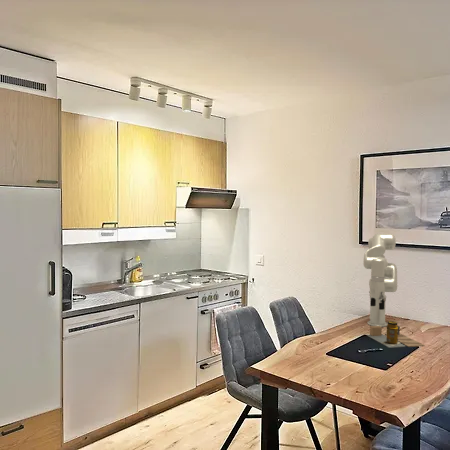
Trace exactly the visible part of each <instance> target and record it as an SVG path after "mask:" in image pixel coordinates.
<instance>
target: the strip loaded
mask: <svg viewBox="0 0 450 450" xmlns="http://www.w3.org/2000/svg"><path fill="white" fill-rule="evenodd" d="M369 326H370V327H369V334H366V336H367V337H369V338H370V339H373V340H374V341H376V342H377V343H379V344H381V345H383V346H385V347H387V348H389V349H390V348H391V349H392V348H394V349H395V348H406V345H404V344H402V343H399V344H397V345H395V346H392V345H387V344H384V343H382V342H385V341H386V338H387V336H386V335H385V334H383V333H382V332H383V331H382V330H383V327H380V326H371V325H369Z"/></svg>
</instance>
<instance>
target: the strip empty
mask: <svg viewBox="0 0 450 450" xmlns="http://www.w3.org/2000/svg"><path fill="white" fill-rule="evenodd" d="M397 327H398V342H400V343H401V344H403V345H405V347H407V348H414V347H415V348H416V347H425V344H423V343H421V342H419V341H417V340H416V339H413V338H411V337H408V336H407V335H404V334H402V333H400V332H401V331H400V330H401V328H400V327H401V326H399V325H397ZM384 335H385V336H387V333H385V334H384Z"/></svg>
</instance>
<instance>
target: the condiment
mask: <svg viewBox="0 0 450 450" xmlns="http://www.w3.org/2000/svg"><path fill="white" fill-rule="evenodd" d="M387 323H388V324H387V326H386V334H387V338H386V341H385V342H382V343H384V344H387V345H392V346H395V345H397V344H399V343H400V342H398V327H397V326H398V322H397V321H394V320H389V321H387Z"/></svg>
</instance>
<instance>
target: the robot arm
mask: <svg viewBox="0 0 450 450" xmlns="http://www.w3.org/2000/svg"><path fill="white" fill-rule="evenodd" d="M396 243H397V241H396V237H395V236H394V234H392V233H377V234H374V235H373V236H372V237H370V238H369V239H368V249H367V250H366V251H365V253H364V255H363V263H362V264H363V267H364V268H365V269H366V270H371V271H370V279H369V281H368V285H369V291H368V293H369V300H370V306H369V308H370V309H369V316H368V319H369V320H368V321H367V325H369V326H380V327H382V328H383V327H387V324H388V321H387V322H386V301H387V295H386V293H395V292H396V291H398V268H397V265H396V263H393V262H389V261H388V259H387V258H386V256H385V253H386V251H393V250H394V249H395V248H396Z"/></svg>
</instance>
